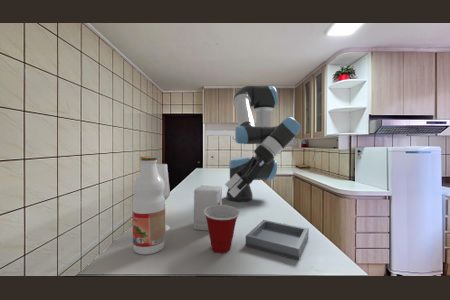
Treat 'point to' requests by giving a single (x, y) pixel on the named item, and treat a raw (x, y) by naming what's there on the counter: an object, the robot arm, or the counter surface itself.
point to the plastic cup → (221, 226)
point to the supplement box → (205, 203)
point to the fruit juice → (148, 208)
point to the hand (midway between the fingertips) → (229, 190)
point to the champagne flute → (164, 174)
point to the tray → (278, 239)
